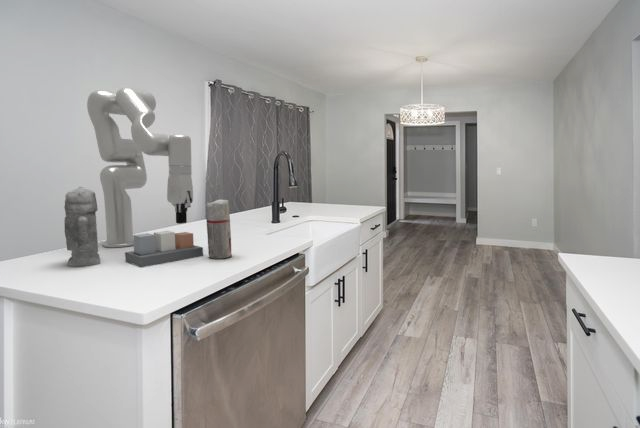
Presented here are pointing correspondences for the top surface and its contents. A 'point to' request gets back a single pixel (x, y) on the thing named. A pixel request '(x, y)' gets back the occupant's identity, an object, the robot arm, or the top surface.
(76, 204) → the figurine
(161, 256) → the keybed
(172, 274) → the top surface
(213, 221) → the spray can
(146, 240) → the slate key
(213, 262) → the top surface
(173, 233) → the ivory key
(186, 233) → the terracotta key
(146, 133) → the robot arm
